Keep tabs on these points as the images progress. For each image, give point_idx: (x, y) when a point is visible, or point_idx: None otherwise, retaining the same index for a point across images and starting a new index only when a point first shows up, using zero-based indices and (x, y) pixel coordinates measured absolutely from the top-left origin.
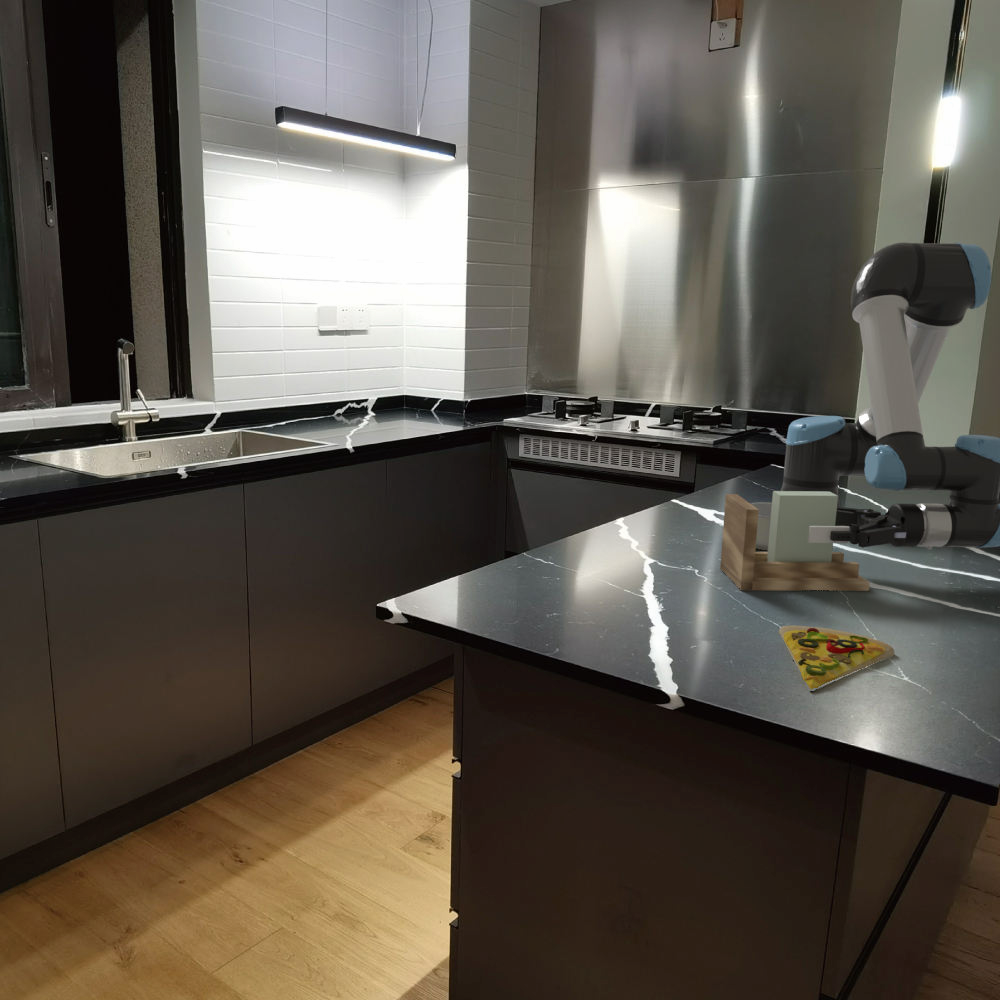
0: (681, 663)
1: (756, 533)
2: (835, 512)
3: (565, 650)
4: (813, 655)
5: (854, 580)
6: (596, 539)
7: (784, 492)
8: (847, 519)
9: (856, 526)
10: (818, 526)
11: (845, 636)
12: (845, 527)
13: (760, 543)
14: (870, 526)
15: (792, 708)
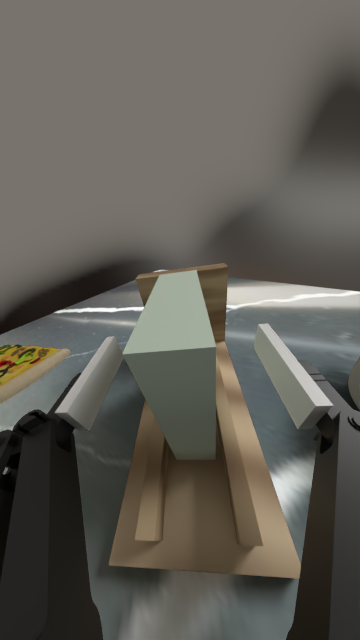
0: (74, 314)
1: (144, 305)
2: (144, 393)
3: (107, 293)
4: (16, 353)
5: (132, 510)
6: (278, 288)
7: (185, 277)
8: (313, 590)
9: (21, 420)
10: (103, 347)
11: (7, 380)
12: (64, 399)
13: (348, 386)
14: (7, 556)
15: (4, 339)
